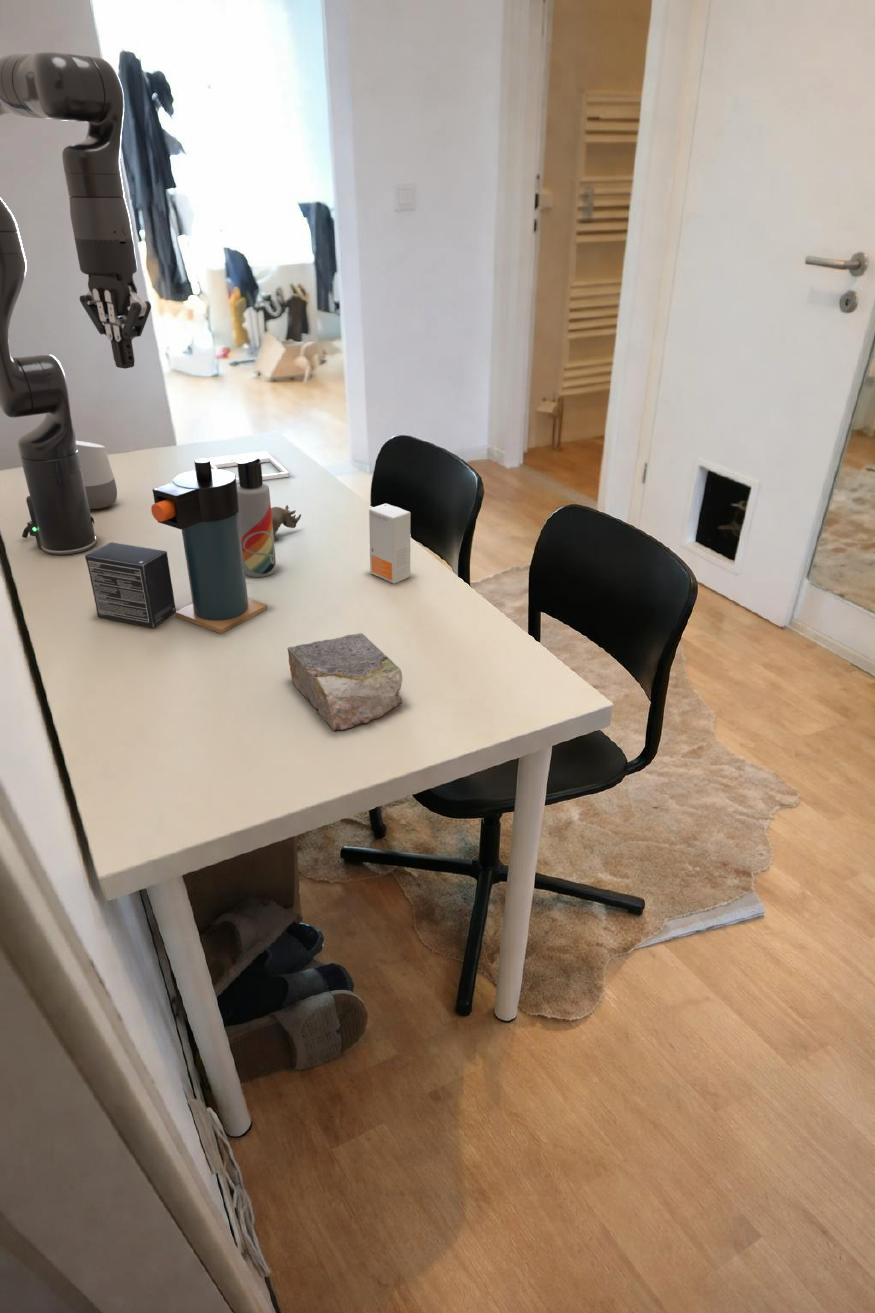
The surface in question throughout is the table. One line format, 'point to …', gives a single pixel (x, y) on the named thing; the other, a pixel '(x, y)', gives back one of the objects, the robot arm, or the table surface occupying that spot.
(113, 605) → the small box
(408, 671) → the table surface
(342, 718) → the geological specimen
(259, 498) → the lotion bottle
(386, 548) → the cosmetic box
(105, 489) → the smart speaker
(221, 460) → the photo frame
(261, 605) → the coaster
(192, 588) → the drink bottle
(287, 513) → the rhino figurine
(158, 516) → the button
